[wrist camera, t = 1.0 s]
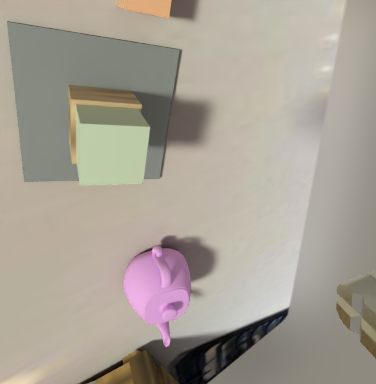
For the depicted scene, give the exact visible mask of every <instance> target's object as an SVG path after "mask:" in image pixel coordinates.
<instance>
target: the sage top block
mask: <svg viewBox="0 0 376 384" xmlns="http://www.w3.org/2000/svg"><path fill="white" fill-rule="evenodd" d="M149 133H150V126H149V125H148V123H147V122H146V120H145V119H144V117H143V116H142V114H141V113H140V112H139V110H138V109H136V108H123V107H109V106H95V105H82V104H76V162H77V169H78V176H79V182H80V185H112V184H143V180H144V172H145V164H146V156H147V148H148V141H149Z"/></svg>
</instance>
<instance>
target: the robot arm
mask: <svg viewBox="0 0 376 384" xmlns="http://www.w3.org/2000/svg"><path fill="white" fill-rule="evenodd" d="M337 293H338V294H339V295H340V298H339V299H338V301H337V312H338V314H339V316H340V318H341V320H342V322H343V323H344V324H345V325H346V327H347V328H348V329H349V330H350V331H353V332H355V333H357V334H359V336H360V342H361V343H362V344H363V345H364V346H365V347H366V348H367V350H369V352H370V353H371V354H372V355H373V356H374V357H375V358H376V270H374V271H372V272H369V273H367V274H363V275H361V276H358V277H356V278H354V279H351V280H349V281H346V282H344V283H341V284H340V285H339V286H338V287H337ZM87 384H97V383H96V381H93V382H90V383H87Z"/></svg>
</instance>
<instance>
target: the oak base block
mask: <svg viewBox="0 0 376 384" xmlns="http://www.w3.org/2000/svg"><path fill="white" fill-rule="evenodd" d="M68 96H69V145H70V153H71V161H72V164H77V162H76V104H82V105H95V106H109V107H123V108H136V109H138V110H139V112H140V113H141V108H142V104H141V103H140V102H139V100H138V99H137V98H136V96H135V95H134V94H133V92H132V91H127V90H116V89H106V88H96V87H85V86H75V85H68Z"/></svg>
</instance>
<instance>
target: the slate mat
mask: <svg viewBox="0 0 376 384" xmlns="http://www.w3.org/2000/svg"><path fill="white" fill-rule="evenodd" d="M7 24H8V34H9V43H10V52H11V62H12V71H13V80H14V89H15V99H16V108H17V117H18V126H19V136H20V145H21V154H22V164H23V173H24V182H38V181H79V176H78V169H77V164H72V161H71V153H70V145H69V96H68V85H75V86H85V87H96V88H106V89H116V90H127V91H132V92H133V94H134V95H135V96H136V98H137V99H138V100H139V102H140V103H141V104H142V108H141V114H142V116H143V117H144V119H145V120H146V122H147V123H148V125H149V126H150V133H149V141H148V148H147V156H146V164H145V172H144V179H160V172H161V166H162V160H163V153H164V147H165V140H166V134H167V128H168V121H169V115H170V109H171V102H172V96H173V90H174V83H175V77H176V71H177V64H178V58H179V52H180V50H179V49H174V48H168V47H162V46H155V45H149V44H143V43H137V42H131V41H125V40H119V39H112V38H106V37H100V36H94V35H88V34H82V33H76V32H69V31H63V30H57V29H51V28H45V27H39V26H32V25H26V24H20V23H14V22H7Z"/></svg>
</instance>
